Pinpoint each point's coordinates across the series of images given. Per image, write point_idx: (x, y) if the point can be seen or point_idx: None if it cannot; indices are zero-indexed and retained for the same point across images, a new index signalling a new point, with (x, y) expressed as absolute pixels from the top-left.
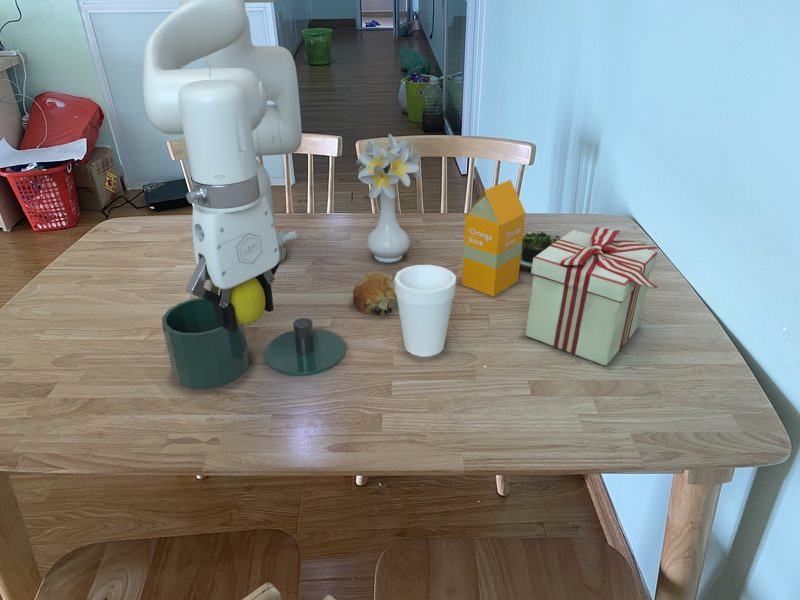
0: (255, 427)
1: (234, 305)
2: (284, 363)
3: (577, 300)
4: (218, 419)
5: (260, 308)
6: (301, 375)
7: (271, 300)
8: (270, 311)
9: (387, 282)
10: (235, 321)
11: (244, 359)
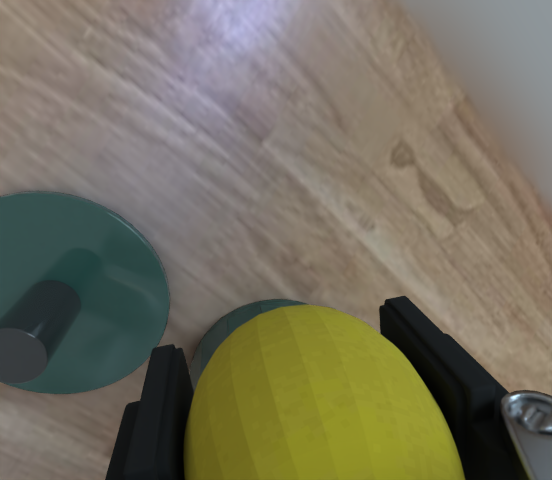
0: (315, 130)
1: (431, 397)
2: (135, 283)
3: None
4: (356, 213)
5: (271, 329)
6: (121, 217)
7: (150, 387)
8: (173, 345)
9: None
10: (401, 326)
11: (223, 339)
